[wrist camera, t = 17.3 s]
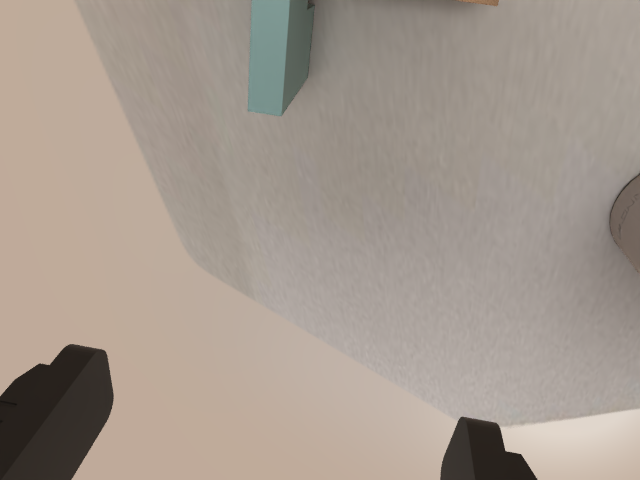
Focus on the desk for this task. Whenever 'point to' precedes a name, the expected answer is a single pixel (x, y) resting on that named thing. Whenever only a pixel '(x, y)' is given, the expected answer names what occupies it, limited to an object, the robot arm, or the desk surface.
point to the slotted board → (483, 2)
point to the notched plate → (278, 53)
